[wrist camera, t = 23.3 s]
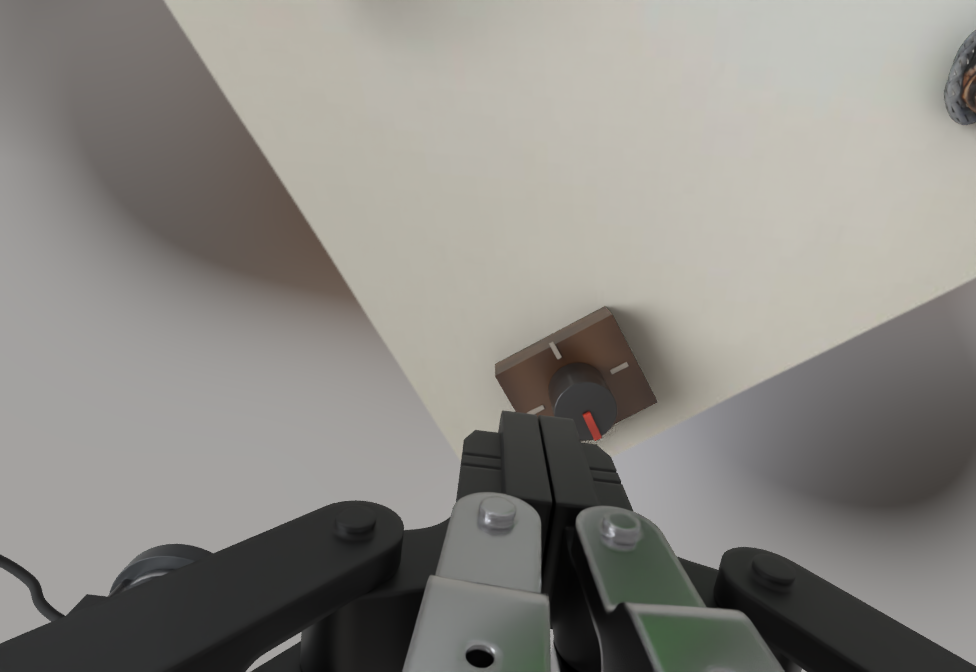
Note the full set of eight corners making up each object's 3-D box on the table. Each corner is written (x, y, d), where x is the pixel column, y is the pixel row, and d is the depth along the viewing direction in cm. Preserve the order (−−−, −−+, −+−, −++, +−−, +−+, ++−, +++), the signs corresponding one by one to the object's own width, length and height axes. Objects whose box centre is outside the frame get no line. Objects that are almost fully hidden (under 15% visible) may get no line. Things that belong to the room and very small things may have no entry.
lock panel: (542, 445, 51) (545, 463, 48) (493, 360, 49) (493, 373, 46) (649, 391, 49) (660, 406, 46) (603, 302, 47) (611, 311, 44)
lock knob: (539, 376, 46) (544, 399, 41) (591, 352, 45) (603, 373, 41) (562, 424, 47) (569, 452, 42) (614, 402, 46) (628, 427, 42)
